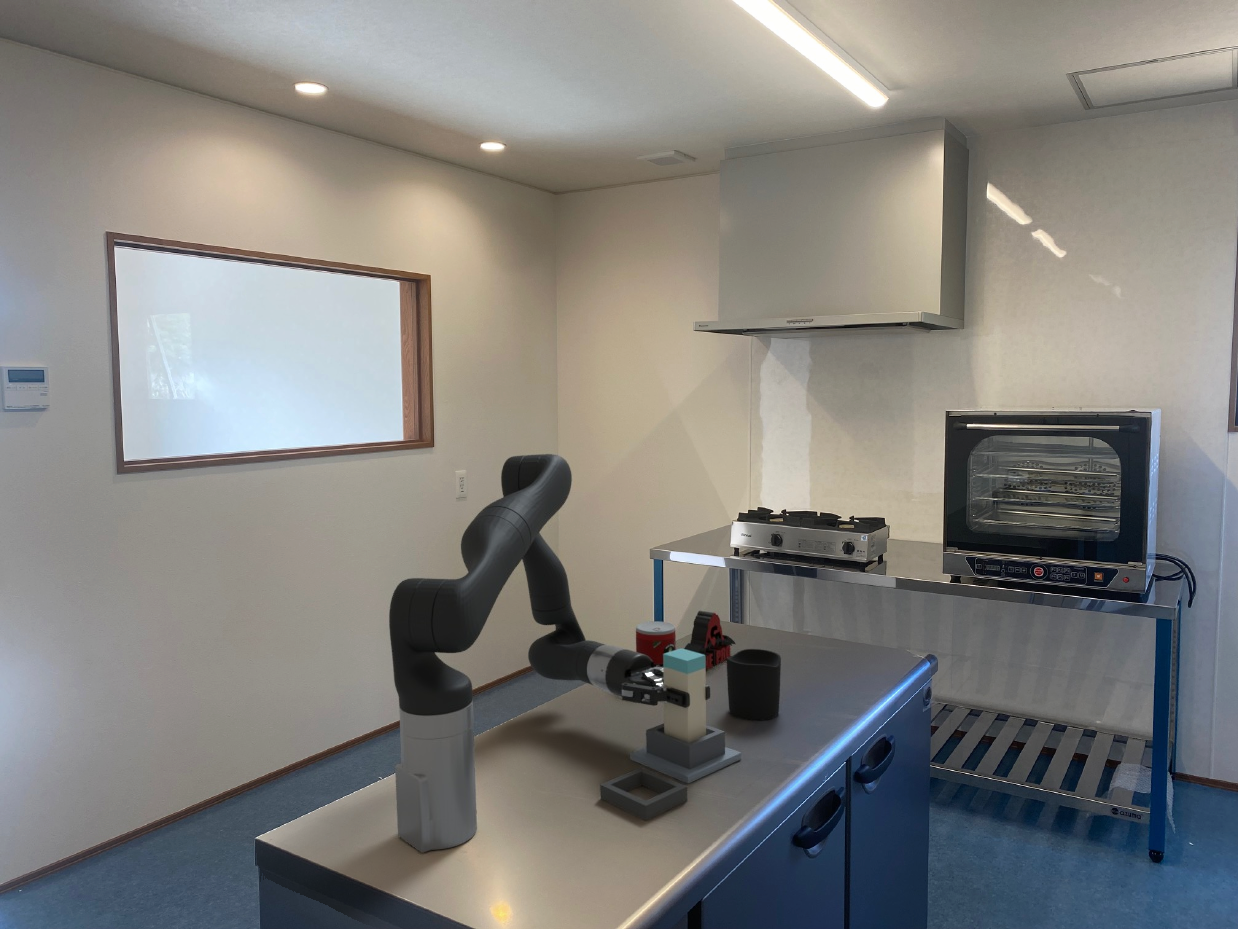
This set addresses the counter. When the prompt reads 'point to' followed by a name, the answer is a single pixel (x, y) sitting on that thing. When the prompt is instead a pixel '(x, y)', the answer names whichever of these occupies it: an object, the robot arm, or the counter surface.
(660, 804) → the gray square frame
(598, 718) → the counter surface
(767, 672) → the pen holder
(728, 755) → the port
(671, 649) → the canned food
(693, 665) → the plug
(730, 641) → the logo sign
